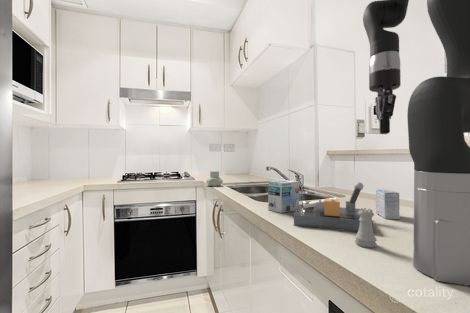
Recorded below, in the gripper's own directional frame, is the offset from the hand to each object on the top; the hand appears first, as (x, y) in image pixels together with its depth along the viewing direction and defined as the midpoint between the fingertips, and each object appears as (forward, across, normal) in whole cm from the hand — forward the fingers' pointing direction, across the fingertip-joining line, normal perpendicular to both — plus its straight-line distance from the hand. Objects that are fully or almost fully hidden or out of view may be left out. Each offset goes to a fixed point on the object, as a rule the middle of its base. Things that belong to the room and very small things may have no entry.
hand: (384, 133), depth 69 cm
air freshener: (+25, -72, -84) cm, 113 cm away
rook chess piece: (+27, +16, -8) cm, 32 cm away
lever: (+22, -8, -8) cm, 25 cm away
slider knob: (+23, +2, -14) cm, 27 cm away
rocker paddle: (+21, -3, -17) cm, 27 cm away
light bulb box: (+26, -14, -30) cm, 42 cm away
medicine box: (+26, -16, +4) cm, 32 cm away
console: (+26, -2, -14) cm, 30 cm away
